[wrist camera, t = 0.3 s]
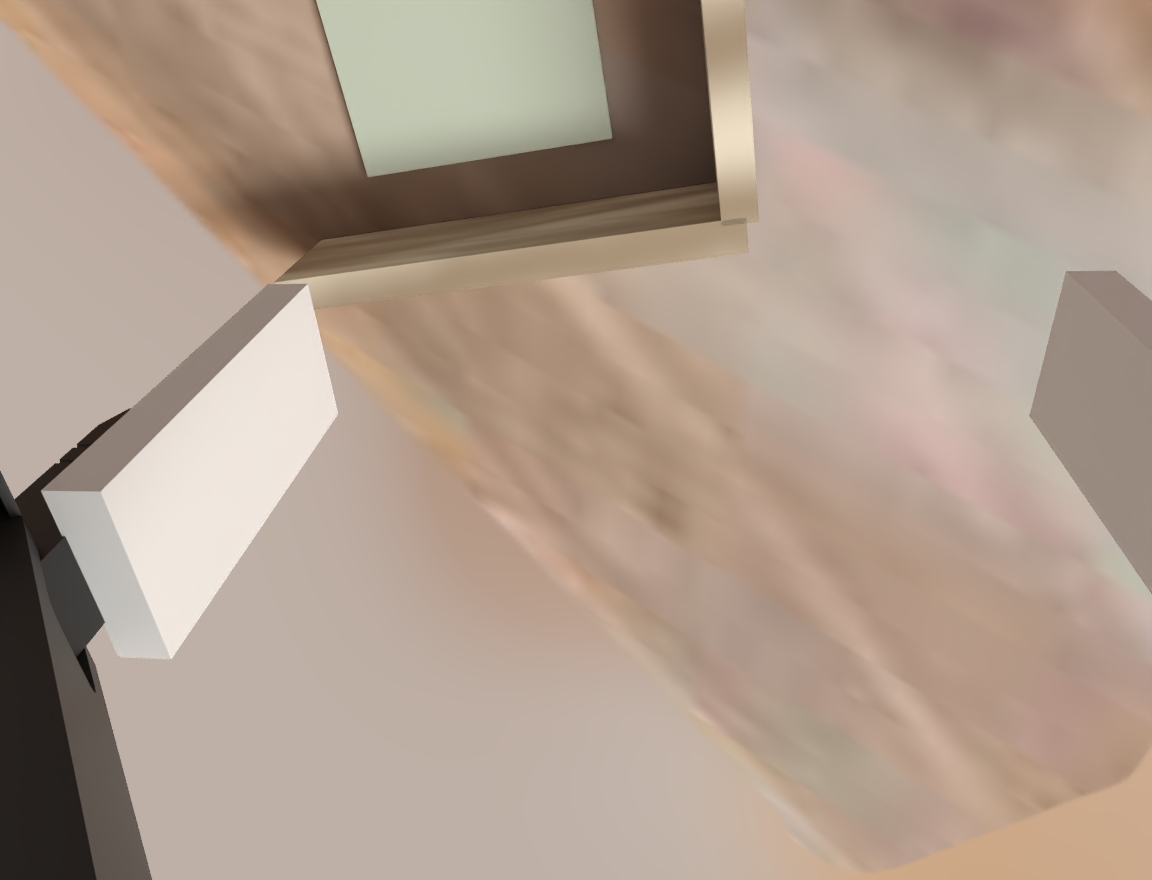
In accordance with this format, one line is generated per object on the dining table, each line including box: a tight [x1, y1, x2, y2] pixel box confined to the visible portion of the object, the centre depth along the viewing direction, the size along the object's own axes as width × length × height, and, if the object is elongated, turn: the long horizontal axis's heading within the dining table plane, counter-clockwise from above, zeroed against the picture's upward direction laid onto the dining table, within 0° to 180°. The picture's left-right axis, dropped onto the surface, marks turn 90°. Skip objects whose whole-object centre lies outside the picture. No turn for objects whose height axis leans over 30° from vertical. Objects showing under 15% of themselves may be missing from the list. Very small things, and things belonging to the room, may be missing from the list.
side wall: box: [700, 0, 759, 226], centre depth 34 cm, size 14×2×6 cm, turn 10°
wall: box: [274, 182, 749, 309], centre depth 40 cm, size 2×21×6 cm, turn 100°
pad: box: [316, 0, 613, 177], centre depth 38 cm, size 12×12×1 cm
